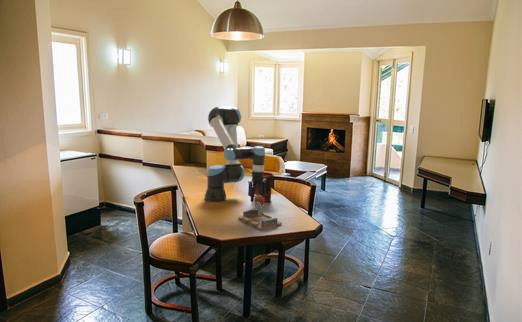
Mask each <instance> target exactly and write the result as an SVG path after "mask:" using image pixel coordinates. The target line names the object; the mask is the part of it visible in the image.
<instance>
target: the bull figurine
mask: <svg viewBox="0 0 522 322" xmlns="http://www.w3.org/2000/svg"><path fill="white" fill-rule="evenodd" d="M254 197H255V206H257V205H258V204H259V203H261V206H260V205H259V207H260V209H263V207H264V206H265V205H266V204H265V202H264V201H265V198H264V197H260V196H257V195H254ZM256 202H257V203H256ZM263 202H264V203H263Z"/></svg>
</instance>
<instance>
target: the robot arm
mask: <svg viewBox="0 0 522 322" xmlns="http://www.w3.org/2000/svg"><path fill="white" fill-rule="evenodd" d="M207 115H208V116H207V119H208V120H207V122H208V123H209V126H210V127H211V128H213V130H214V131H215V134H216V135H217V138H218V141H219V142H220V143H221V146H222V147H223V149H224V150H223V157H224V159H225V160H226V162H225V163H224V165H223V164H214V165H210V166H209V167H208V168H207V173H206V175H207V178H206V179H207V184H206V186H207V187H206V190H205V193H204V200H206V201H209V202H223V201H225V200H227V194H226V190H225V184H230V183H239V182H240V183H241V182H242V181H243V179H244V178H245V172H246V171H245V168H244V166H243V165H242V163H241V162H240V160H251V161H252V163H251V164H252V166H251V167H252V168H251V170H252V172H251V180H248V181H247V183H248V189H247V190H248V191H247V197H250V202H251V203H250V207H252V208H255V206H256V205H255V197H254V195H255V191H256V187H257V185H258V188H259V194H260V195H258V196H260V197H263V196H264V194H265V192H266V181H267V180H266V179H263V177H264V172H265V159H266V158H265V157H266V148H265V147H264V146H261V145H258V146H253V147H252V146H248V145H247V146H245V147H239V146H238V133H237V132H238V131H237V128H238V126H239V124H240V123H241V119H242V115H241V111H240V109H239V108H237V107H234V106H216V107H213V108H212V109H211V110H210V111H209V113H208V114H207ZM257 205H258V206H259V207H260V206H261V203H259V204H258V203H257Z"/></svg>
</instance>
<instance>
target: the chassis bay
mask: <svg viewBox="0 0 522 322" xmlns="http://www.w3.org/2000/svg"><path fill="white" fill-rule="evenodd" d="M242 214H243V215H242V216H241V215H240V216H238V219H237V220H239V221H241V222H243V223H244V224H246V225H248V226H251V228H252V227H253V229H256V230H258V231H263V230H264V231H265V230H267V229H272V228H276V227H279V226H282V225H283V224H282V223H283V222H282V221H279V220H278V218H277V217H274V216H272V215H270V214H268V213H265V212H259V209H257V208H253V209H249V210H244V211H242Z"/></svg>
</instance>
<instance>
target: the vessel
mask: <svg viewBox="0 0 522 322" xmlns="http://www.w3.org/2000/svg"><path fill="white" fill-rule="evenodd" d="M274 177H275V174H274V173H271V172H269V171H264V177H263V179H266V180H267V181H266V192H265V194H264V196H263V197H264V198H265V201H264V202H265V204H264V205H270V204H271V203H272V202H273V201H272V183H273V180H274ZM255 195H257V196H258V195H260V194H259V188H258V185H257V187H256V191H255ZM264 202H263V203H264ZM256 204H258V203H257V202H256Z"/></svg>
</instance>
